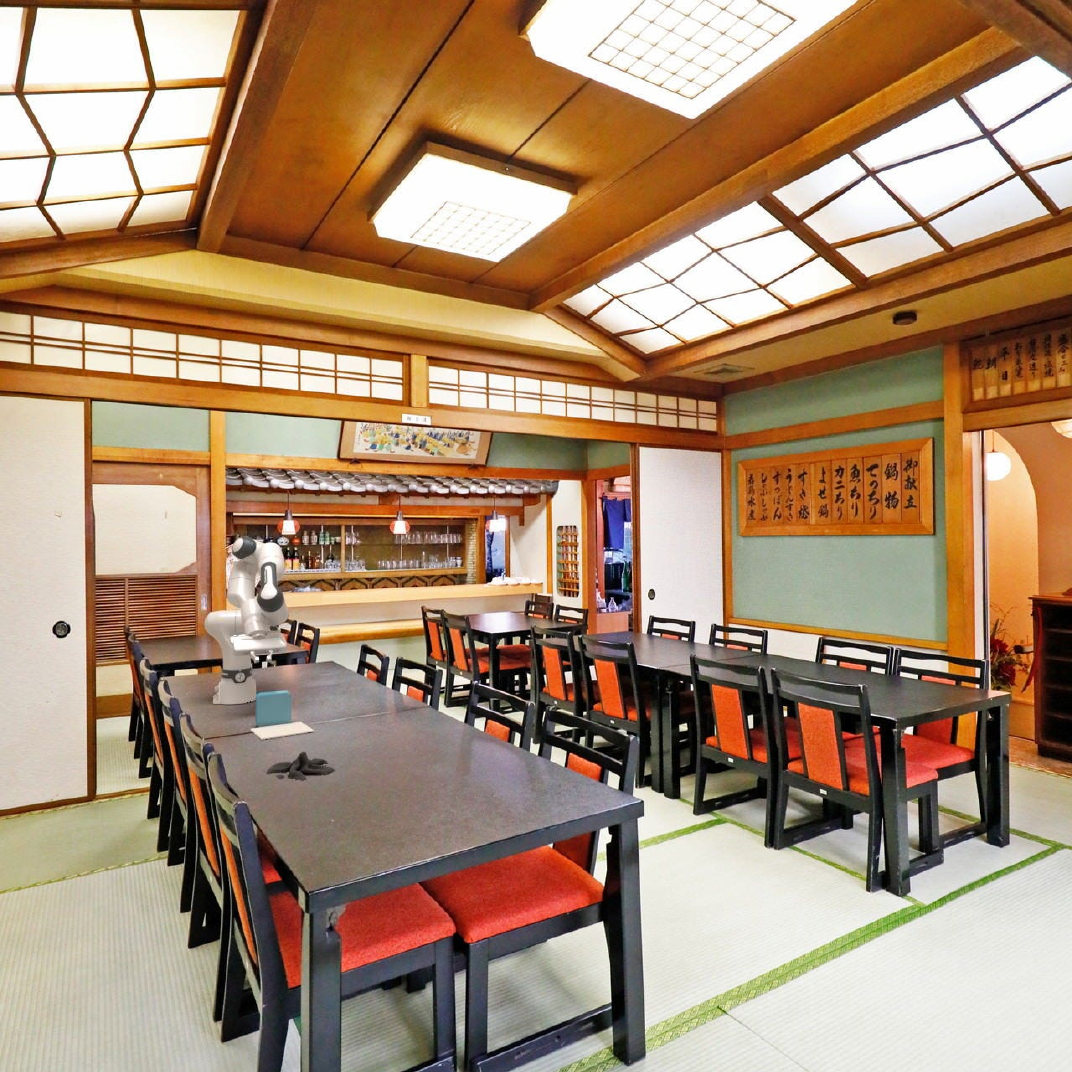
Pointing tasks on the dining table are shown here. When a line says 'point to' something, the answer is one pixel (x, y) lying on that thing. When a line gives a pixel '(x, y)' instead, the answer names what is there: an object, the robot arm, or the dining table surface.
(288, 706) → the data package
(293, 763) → the cloth
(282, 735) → the pale mat
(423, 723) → the dining table surface
